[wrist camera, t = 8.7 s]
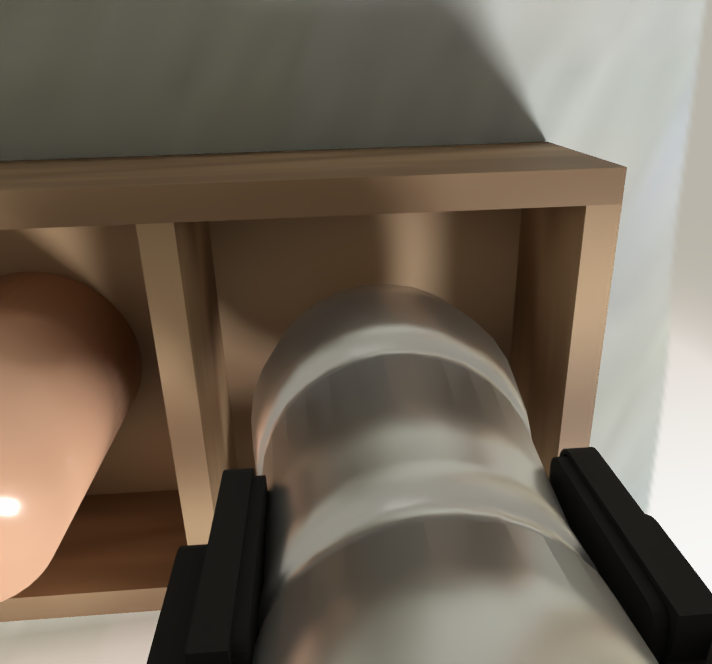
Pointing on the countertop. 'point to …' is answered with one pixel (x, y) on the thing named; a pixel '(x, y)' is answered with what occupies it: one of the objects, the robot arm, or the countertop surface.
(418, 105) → the countertop surface
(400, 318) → the grey metal bottle
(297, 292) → the crate
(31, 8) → the countertop surface
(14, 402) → the peach colored egg
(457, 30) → the countertop surface
